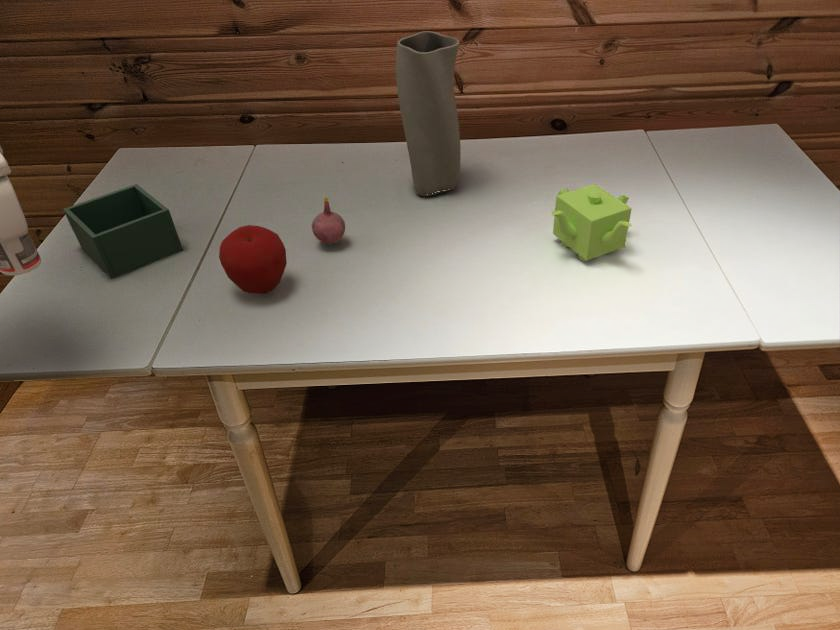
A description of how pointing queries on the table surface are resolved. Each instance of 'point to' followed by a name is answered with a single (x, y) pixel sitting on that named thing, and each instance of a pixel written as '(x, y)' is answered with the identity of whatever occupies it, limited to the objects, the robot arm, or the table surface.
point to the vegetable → (328, 225)
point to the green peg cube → (591, 221)
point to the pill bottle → (19, 258)
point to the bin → (124, 230)
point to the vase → (429, 109)
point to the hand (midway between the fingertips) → (8, 241)
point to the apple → (253, 259)
